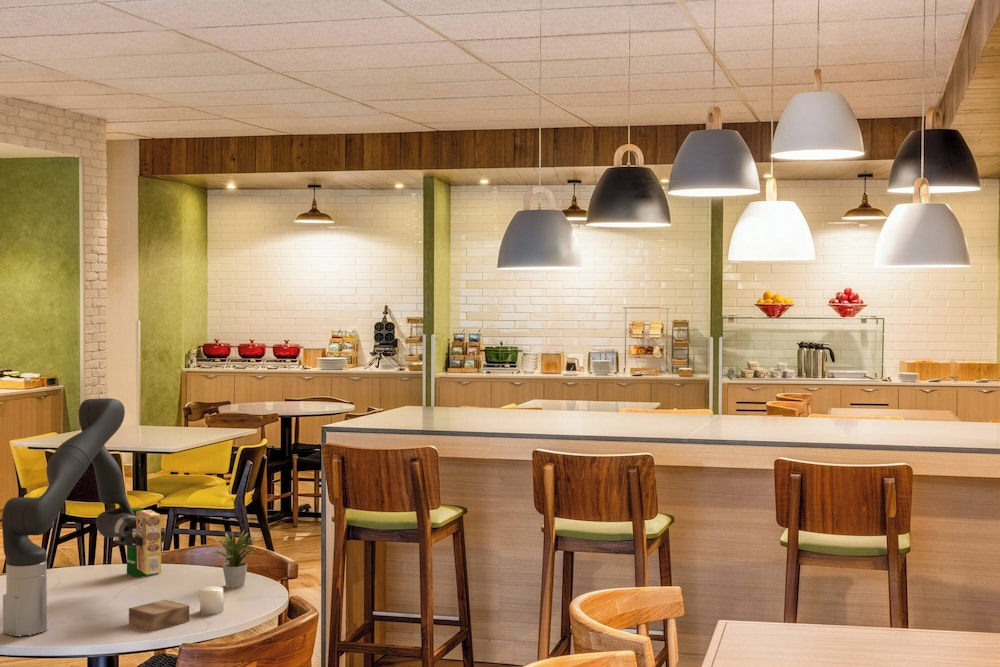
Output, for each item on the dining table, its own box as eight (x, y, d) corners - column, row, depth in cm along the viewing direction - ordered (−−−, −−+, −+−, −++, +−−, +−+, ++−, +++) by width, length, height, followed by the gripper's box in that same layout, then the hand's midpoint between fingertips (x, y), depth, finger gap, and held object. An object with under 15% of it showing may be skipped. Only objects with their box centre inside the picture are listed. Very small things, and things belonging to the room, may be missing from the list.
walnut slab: (153, 630, 281) (152, 614, 281) (128, 623, 287) (128, 608, 287) (189, 621, 290) (189, 605, 290) (165, 614, 296) (165, 599, 296)
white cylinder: (210, 615, 295) (210, 593, 295) (195, 612, 299) (195, 589, 298) (228, 610, 300) (228, 588, 300) (213, 607, 303) (213, 585, 303)
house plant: (254, 593, 319) (253, 535, 319) (205, 592, 319) (205, 535, 319) (265, 581, 333) (265, 525, 333) (218, 580, 333) (218, 525, 333)
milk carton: (122, 574, 342) (121, 508, 341) (149, 569, 348) (149, 504, 348) (137, 578, 336) (136, 511, 335) (164, 573, 342) (164, 507, 342)
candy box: (162, 573, 293) (161, 514, 292) (145, 575, 290) (145, 515, 290) (151, 566, 300) (151, 509, 300) (135, 568, 298) (135, 510, 297)
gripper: (105, 519, 304) (122, 530, 289) (158, 514, 311) (178, 524, 297) (105, 547, 304) (122, 559, 289) (158, 541, 312) (178, 552, 297)
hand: (150, 541), depth 293 cm, fingers closed on candy box, 4 cm apart
